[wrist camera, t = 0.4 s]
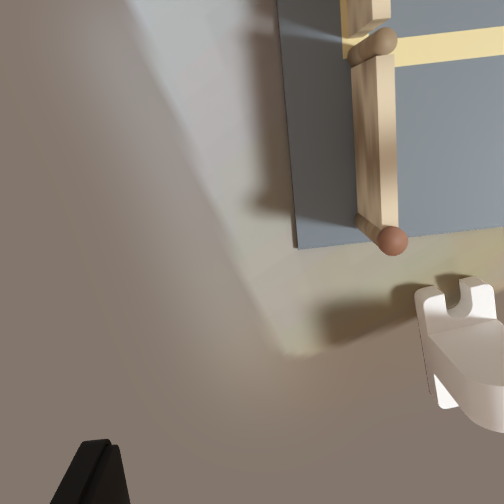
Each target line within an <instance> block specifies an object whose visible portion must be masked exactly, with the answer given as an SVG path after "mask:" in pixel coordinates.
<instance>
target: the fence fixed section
mask: <svg viewBox="0 0 504 504" xmlns="http://www.w3.org/2000/svg"><path fill="white" fill-rule="evenodd" d="M346 9H347V29H348V39H352V38H361V37H364V36H365V35H367V34H368V33H370V32H371V31H373V30H374V29H375V28H377V27H378V26H380V25H381V24H383V23H384V22H385V21H387V20H388V19H390V18H391V0H346Z"/></svg>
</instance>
